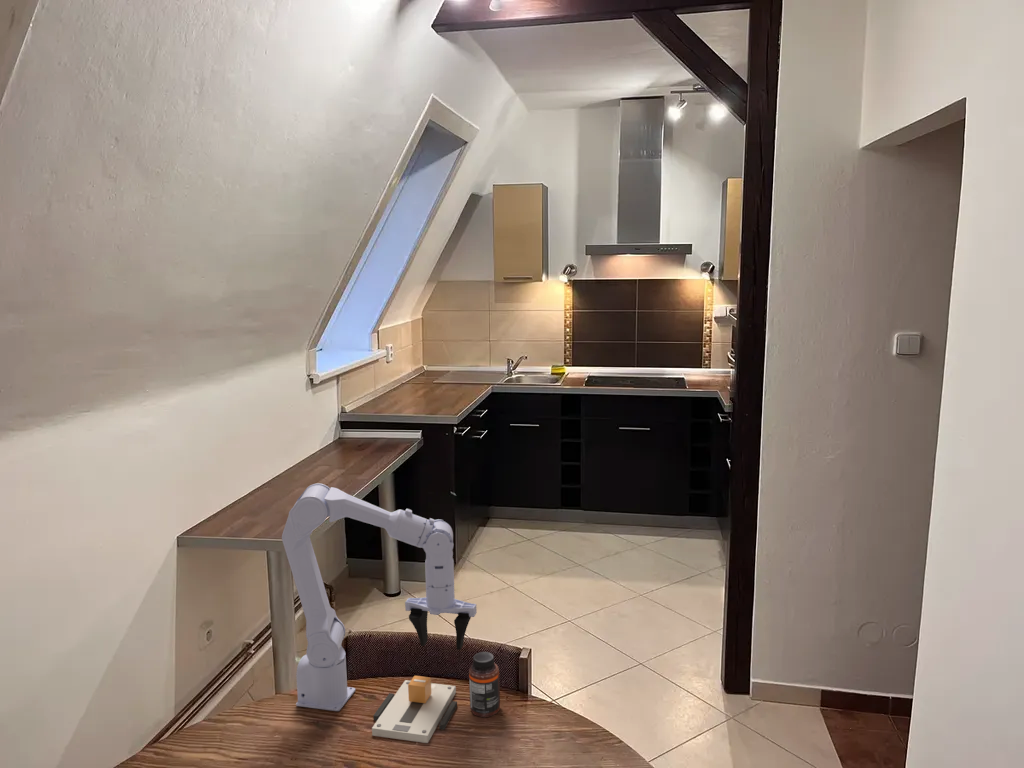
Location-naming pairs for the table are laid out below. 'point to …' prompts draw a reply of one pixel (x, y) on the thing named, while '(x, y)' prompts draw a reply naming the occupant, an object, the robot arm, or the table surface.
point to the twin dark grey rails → (442, 723)
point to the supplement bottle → (484, 685)
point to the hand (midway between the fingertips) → (441, 645)
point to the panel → (414, 714)
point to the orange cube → (419, 689)
